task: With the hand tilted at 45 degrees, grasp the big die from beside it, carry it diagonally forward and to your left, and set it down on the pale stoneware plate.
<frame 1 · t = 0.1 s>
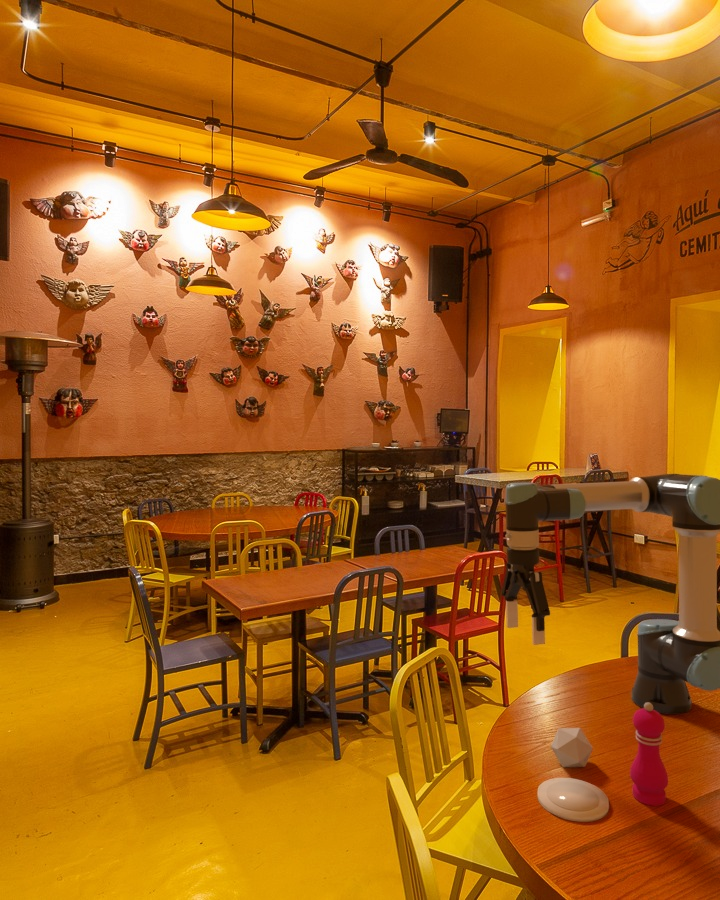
hand: (525, 635, 150), 28 cm above the table, tool pointing down, fingers open, 13 cm apart
plate: (572, 800, 129), on the table
pepper mill: (649, 798, 130), on the table
die: (571, 764, 144), on the table
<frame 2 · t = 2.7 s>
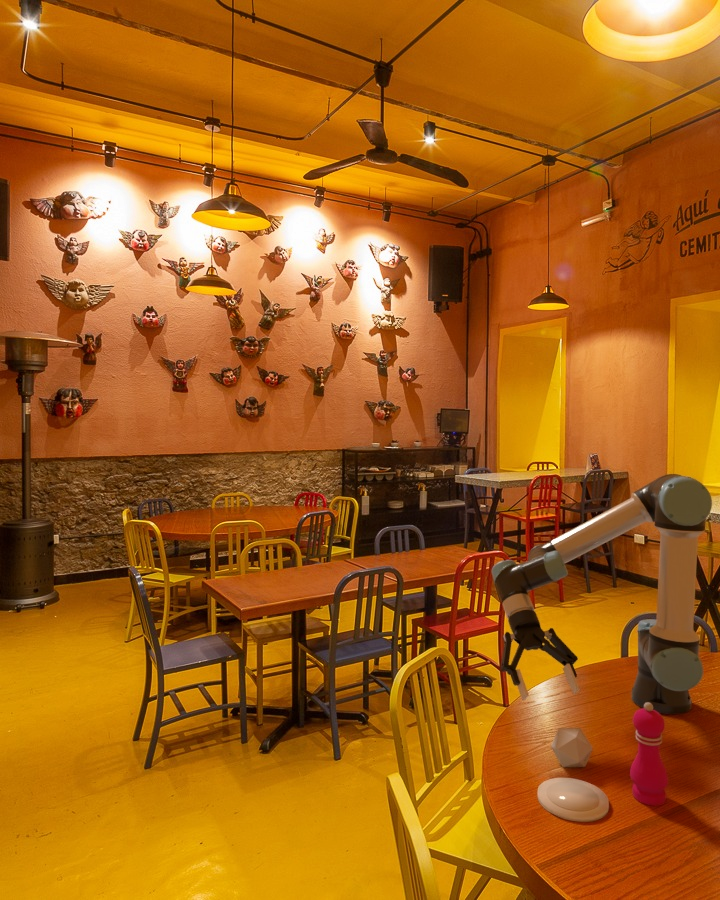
hand: (551, 694, 151), 13 cm above the table, tool tilted 45°, fingers open, 13 cm apart
nothing on the table moved.
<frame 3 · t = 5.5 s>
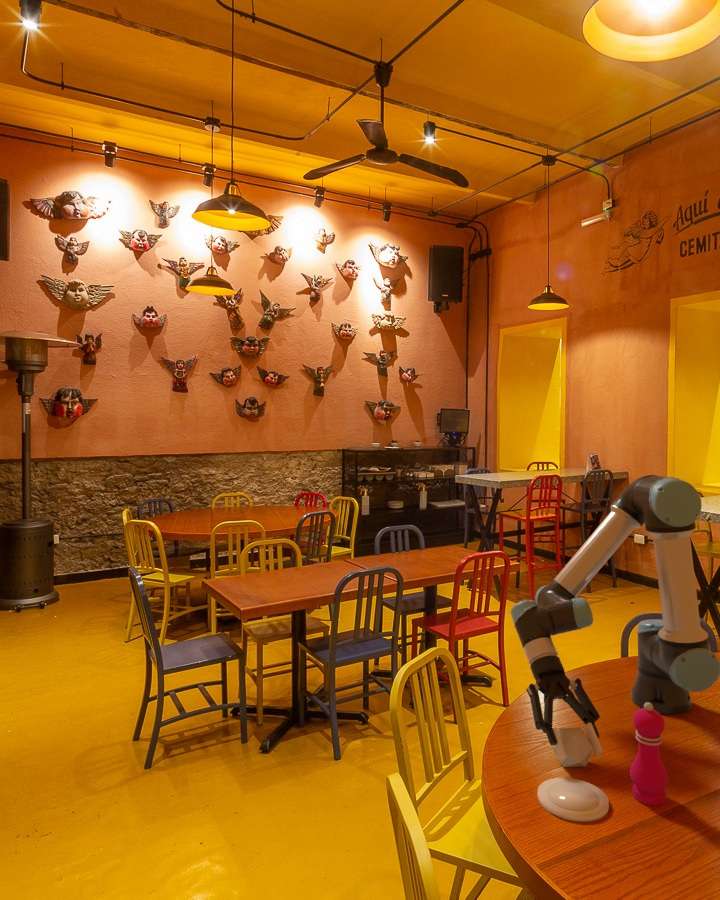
hand: (581, 756, 140), 4 cm above the table, tool tilted 45°, fingers closed on die, 8 cm apart
die: (572, 764, 144), on the table, touching gripper
everything else where it was.
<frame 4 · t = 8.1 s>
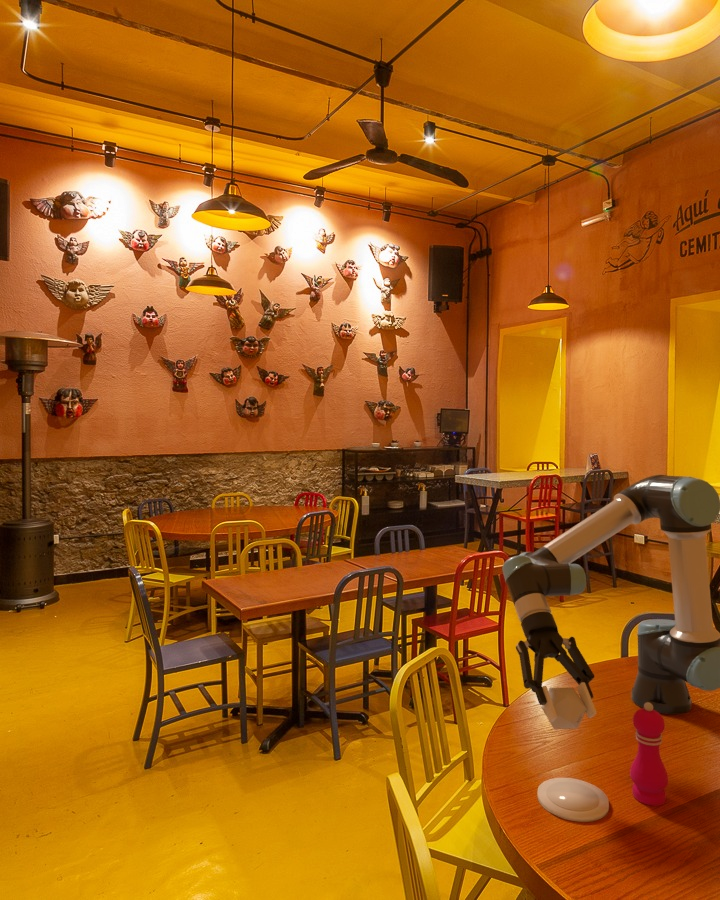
hand: (573, 717, 129), 18 cm above the table, tool tilted 45°, fingers closed on die, 8 cm apart
die: (563, 726, 134), point 14 cm above the table, touching gripper
everything else where it was.
when the fingers open (6 cm above the table, at t = 10.8 s): die stays where it is, resting on plate.
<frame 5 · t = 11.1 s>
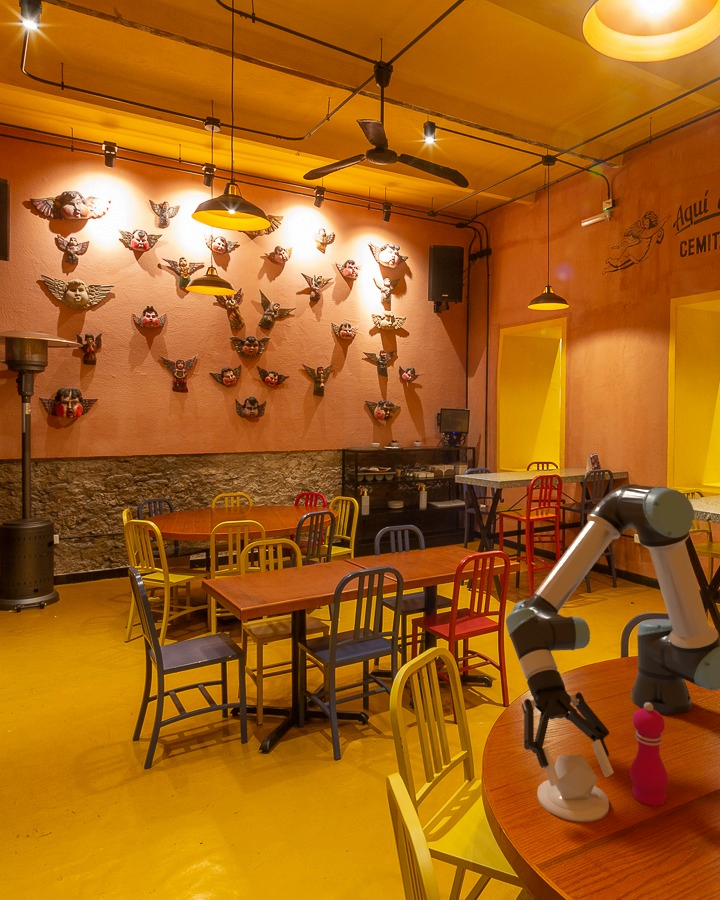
hand: (582, 779, 126), 7 cm above the table, tool tilted 45°, fingers open, 11 cm apart
die: (573, 796, 130), point 1 cm above the table, touching plate
everything else where it was.
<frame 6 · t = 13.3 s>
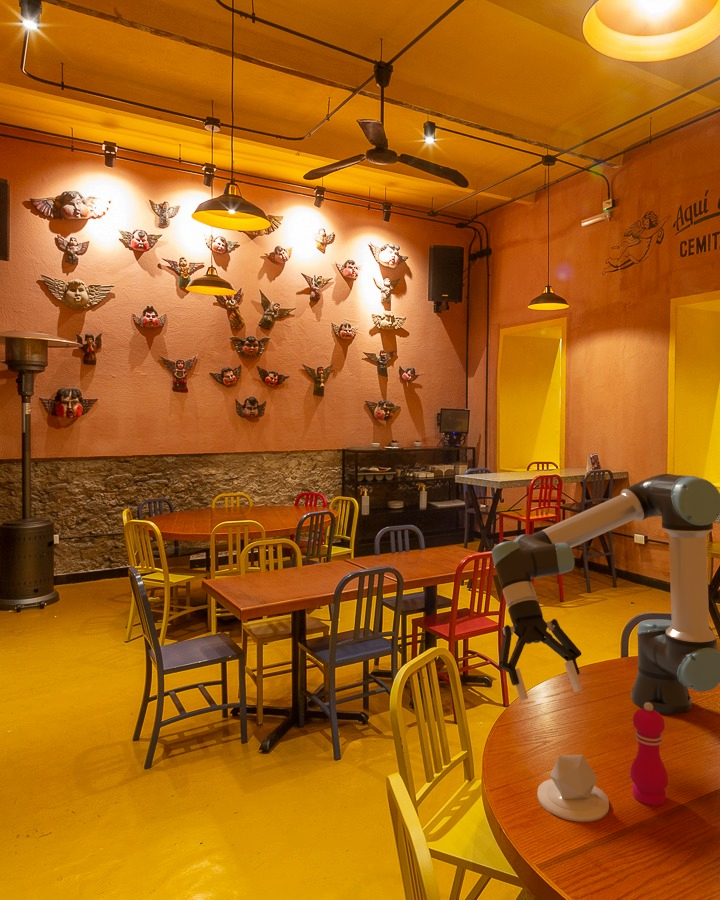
hand: (551, 695, 140), 17 cm above the table, tool tilted 35°, fingers open, 13 cm apart
nothing on the table moved.
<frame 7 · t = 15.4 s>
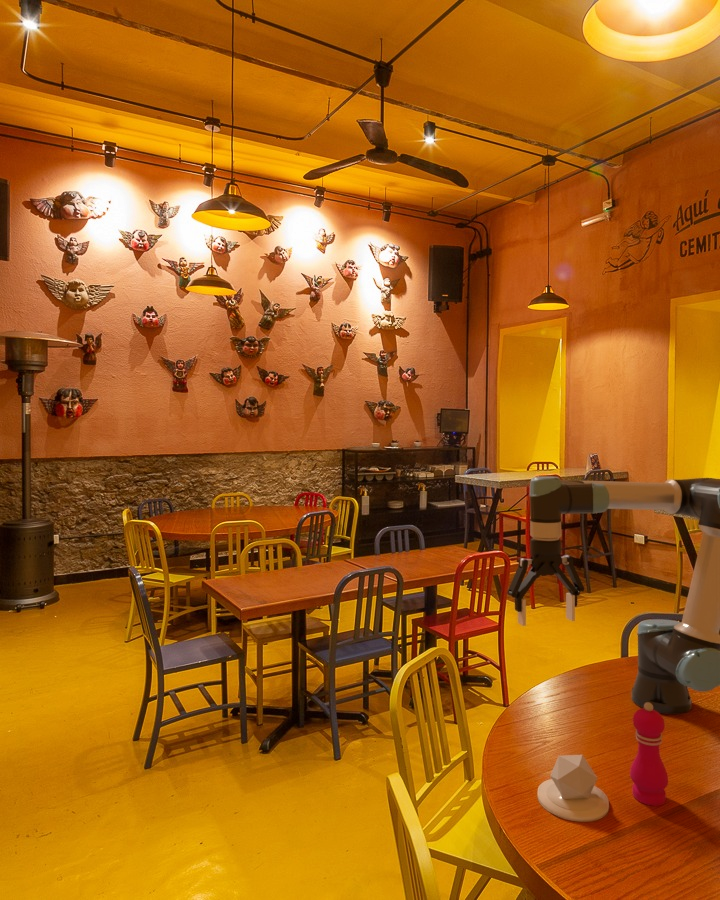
hand: (546, 621, 157), 29 cm above the table, tool pointing down, fingers open, 13 cm apart
nothing on the table moved.
at the end: die 0.3 cm from the plate (horizontally); die tilted 1°; die touching plate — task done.
